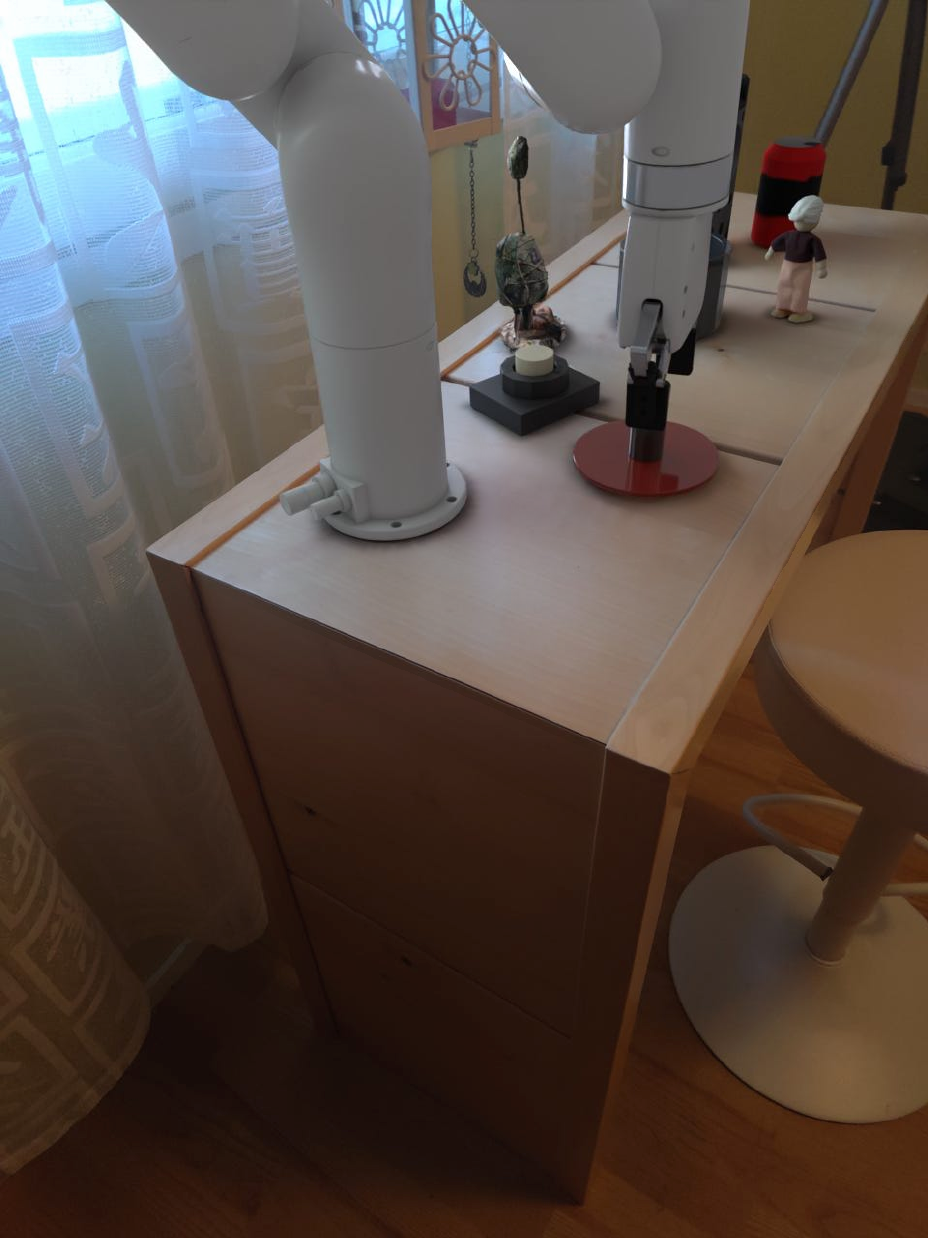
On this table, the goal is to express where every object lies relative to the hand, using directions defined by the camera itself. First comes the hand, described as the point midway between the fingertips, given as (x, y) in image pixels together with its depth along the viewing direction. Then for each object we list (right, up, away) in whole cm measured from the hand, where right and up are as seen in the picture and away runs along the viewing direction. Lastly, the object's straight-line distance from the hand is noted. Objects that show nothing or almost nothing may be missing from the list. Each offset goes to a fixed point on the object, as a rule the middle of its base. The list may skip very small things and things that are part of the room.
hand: (660, 398), depth 74 cm
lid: (-1, -4, +4) cm, 6 cm away
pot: (+7, +15, +27) cm, 32 cm away
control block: (-10, +3, +13) cm, 17 cm away
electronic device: (+14, +29, +42) cm, 53 cm away
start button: (-10, +6, +11) cm, 16 cm away
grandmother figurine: (+20, +16, +26) cm, 37 cm away
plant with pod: (-9, +12, +25) cm, 29 cm away
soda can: (+26, +32, +45) cm, 61 cm away
